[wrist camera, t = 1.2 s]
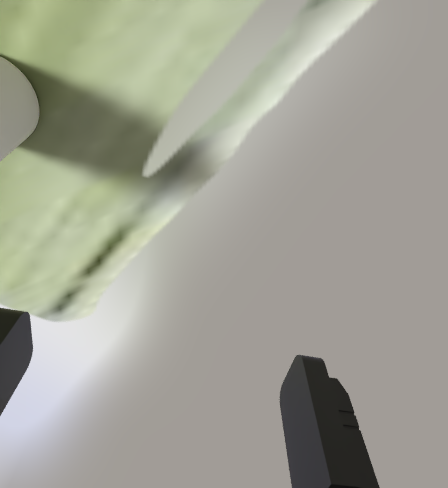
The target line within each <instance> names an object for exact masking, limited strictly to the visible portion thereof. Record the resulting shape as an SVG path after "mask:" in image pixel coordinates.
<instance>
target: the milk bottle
mask: <svg viewBox="0 0 448 488" xmlns="http://www.w3.org/2000/svg"><path fill="white" fill-rule="evenodd" d="M38 120H39V104H38V99H37V96H36V93H35V91H34V89H33V87H32V85H31V83H30V82H29V81H28V79H27V78H26V77H25V75H24V74H23V73H22V72H21V71H20V70H19V69H18V68H17V67H15V66H14V65H13V64H12V63H10V62H9V61H7V60H6V59H4V58H2V57H0V161H1V160H2V159H4V158H5V157H6V156H7V155H8V154H9V153H11V152H12V151H13V150H14V149H15V148H16V147H18V146H19V145H20V144H21V143H22V142H23V141H24V140H26V139H27V138H28V137H29V136H30V135H31V134H32V132H33V131H34V130H35V128H36V126H37V124H38Z"/></svg>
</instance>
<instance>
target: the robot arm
mask: <svg viewBox="0 0 448 488" xmlns="http://www.w3.org/2000/svg"><path fill="white" fill-rule="evenodd" d="M32 352H33V344H32V334H31V323H30V315H29V313H28V312H24V311H17V310H11V309H4V308H0V415H1V414H2V412H3V410H4V408H5V407H6V405H7V403H8V401H9V400H10V398H11V396H12V394H13V392H14V391H15V389H16V387H17V386H18V384H19V382H20V380H21V379H22V377H23V375H24V373H25V372H26V370H27V368H28V366H29V363H30V360H31V357H32ZM280 408H281V415H282V421H283V429H284V436H285V442H286V449H287V456H288V463H289V470H290V477H291V484H292V488H379V485H378V482H377V479H376V476H375V473H374V470H373V467H372V464H371V461H370V458H369V455H368V452H367V449H366V446H365V443H364V440H363V437H362V434H361V431H360V430H359V425H358V422H357V419H356V416H354V410H353V407H352V404H351V401H350V398H349V395H348V393H347V392H346V391H345V389H344V388H343V386H342V385H341V384H340V382H339V381H338V379H335V378H329V376H328V373H327V369H326V366H325V363H324V361H323V360H322V359H321V358H316V357H309V356H303V355H297V356H296V357H295V359H294V361H293V363H292V365H291V367H290V369H289V371H288V373H287V376H286V377H285V380H284V382H283V384H282V387H281V391H280Z"/></svg>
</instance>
